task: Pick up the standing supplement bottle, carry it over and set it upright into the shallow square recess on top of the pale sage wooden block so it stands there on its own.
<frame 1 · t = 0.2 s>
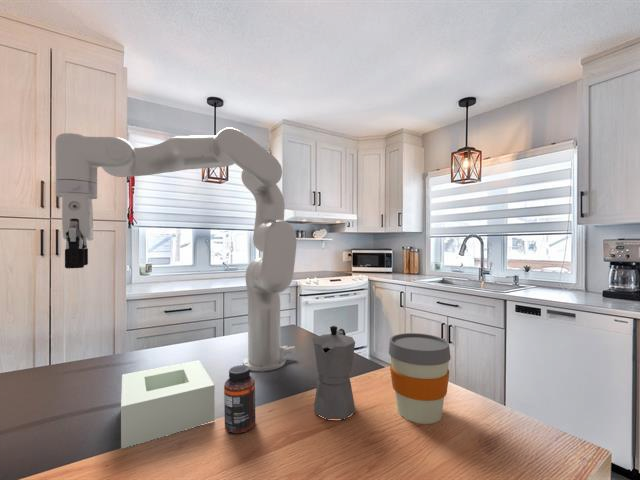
hand: (77, 266, 72), 31 cm above the countertop, tool pointing down, fingers open, 9 cm apart
sage block: (166, 415, 67), on the countertop
supplement bottle: (240, 427, 63), on the countertop
coffeepot: (335, 408, 70), on the countertop
reusable coffee cup: (419, 412, 68), on the countertop
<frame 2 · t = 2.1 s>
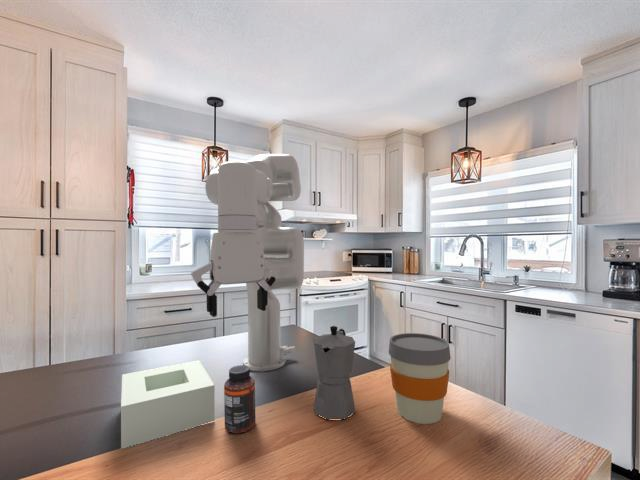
hand: (238, 312, 63), 22 cm above the countertop, tool pointing down, fingers open, 9 cm apart
nothing on the countertop moved.
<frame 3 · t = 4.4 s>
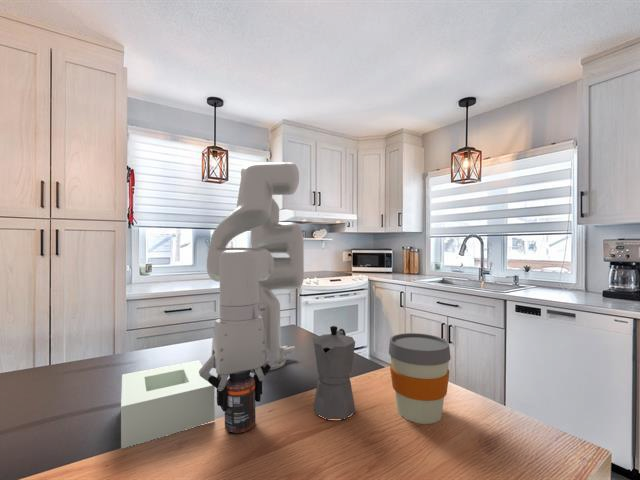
hand: (240, 402, 63), 5 cm above the countertop, tool pointing down, fingers closed on supplement bottle, 5 cm apart
supplement bottle: (240, 427, 63), on the countertop, touching gripper
everything else where it was.
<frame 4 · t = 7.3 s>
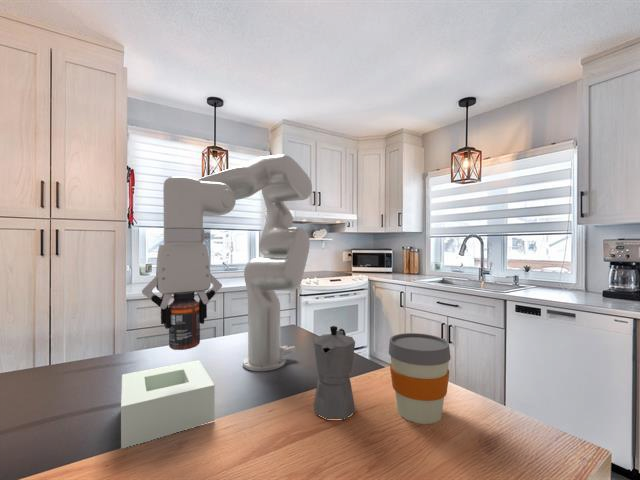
hand: (184, 323, 66), 19 cm above the countertop, tool pointing down, fingers closed on supplement bottle, 5 cm apart
supplement bottle: (184, 347, 66), point 15 cm above the countertop, touching gripper
everything else where it was.
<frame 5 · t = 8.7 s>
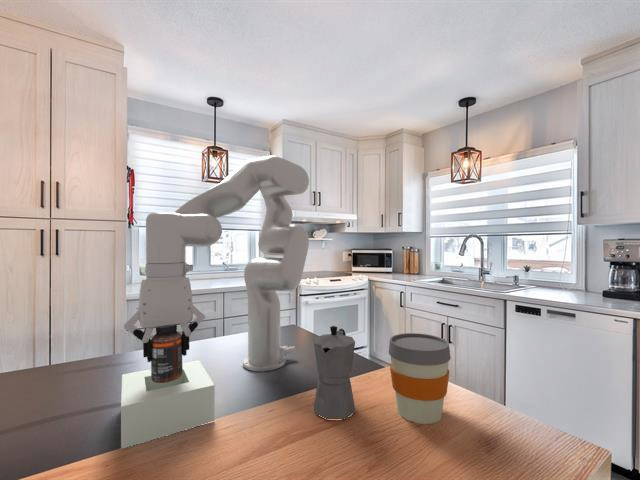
hand: (166, 356, 67), 12 cm above the countertop, tool pointing down, fingers closed on supplement bottle, 5 cm apart
supplement bottle: (167, 379, 67), point 8 cm above the countertop, touching gripper
everything else where it was.
when the fingers open (9 cm above the countertop, at t = 10.2 s): supplement bottle stays where it is, resting on sage block.
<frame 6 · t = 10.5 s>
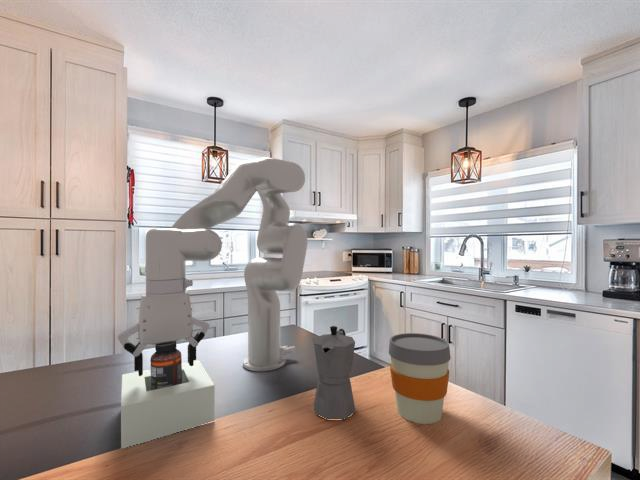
hand: (166, 368, 67), 10 cm above the countertop, tool pointing down, fingers open, 9 cm apart
supplement bottle: (166, 397, 67), point 4 cm above the countertop, touching sage block
everything else where it was.
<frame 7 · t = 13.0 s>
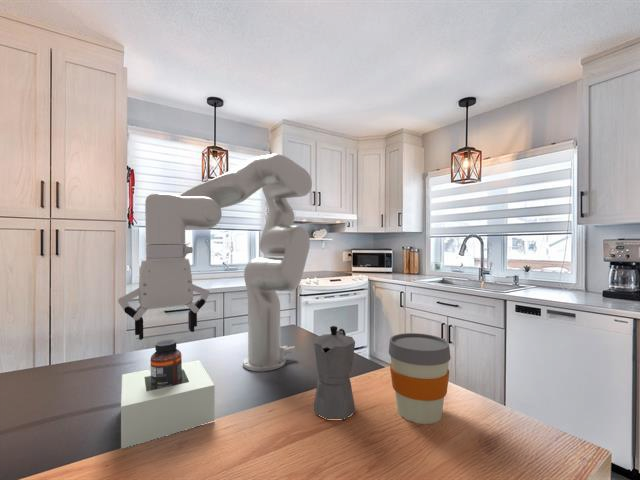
hand: (167, 334, 67), 17 cm above the countertop, tool pointing down, fingers open, 9 cm apart
nothing on the countertop moved.
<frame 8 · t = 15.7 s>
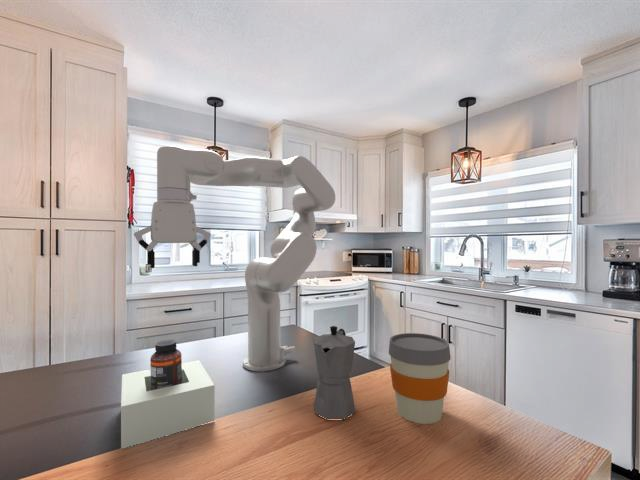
hand: (174, 266, 79), 30 cm above the countertop, tool pointing down, fingers open, 9 cm apart
nothing on the countertop moved.
at the end: supplement bottle 0.1 cm off-centre on the sage block, point 3.8 cm above the sage block's base; supplement bottle tilted 0°; supplement bottle touching sage block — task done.
